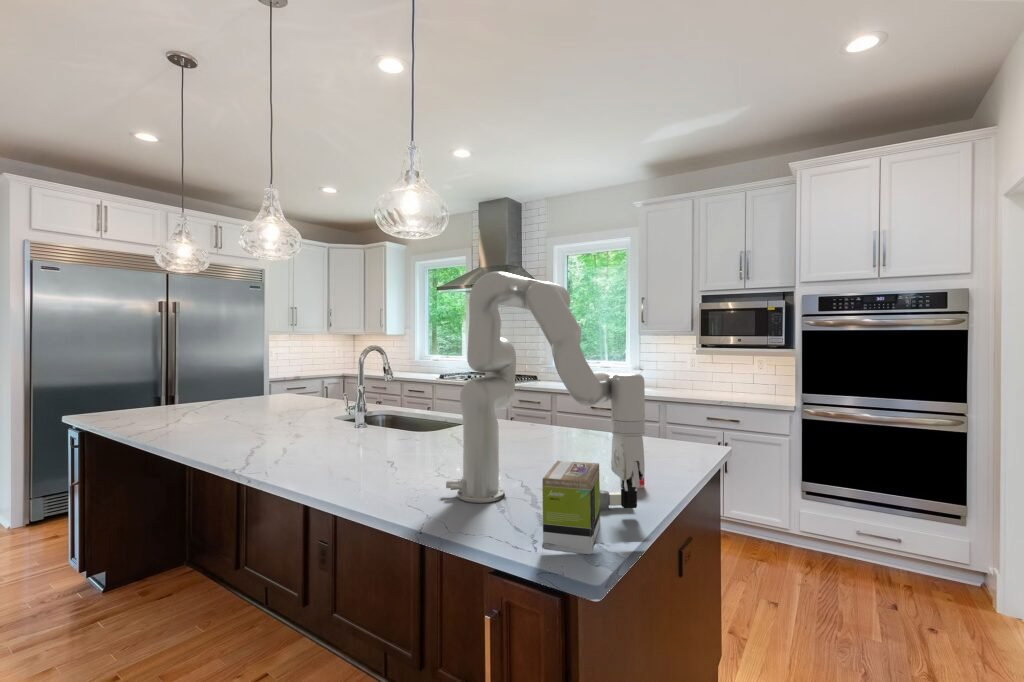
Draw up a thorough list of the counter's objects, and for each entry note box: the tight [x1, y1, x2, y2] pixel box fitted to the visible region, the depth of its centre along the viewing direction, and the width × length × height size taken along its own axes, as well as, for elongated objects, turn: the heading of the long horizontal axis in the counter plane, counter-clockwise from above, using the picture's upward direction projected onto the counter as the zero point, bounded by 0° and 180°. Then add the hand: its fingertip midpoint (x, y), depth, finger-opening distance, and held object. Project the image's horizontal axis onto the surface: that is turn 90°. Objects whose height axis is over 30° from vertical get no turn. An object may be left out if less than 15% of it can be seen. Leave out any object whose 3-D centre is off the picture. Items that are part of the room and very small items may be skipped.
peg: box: [600, 489, 621, 511], centre depth 121 cm, size 9×3×4 cm, turn 96°
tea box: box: [541, 460, 601, 555], centre depth 106 cm, size 15×10×15 cm, turn 163°
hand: (629, 507), depth 115 cm, fingers closed
